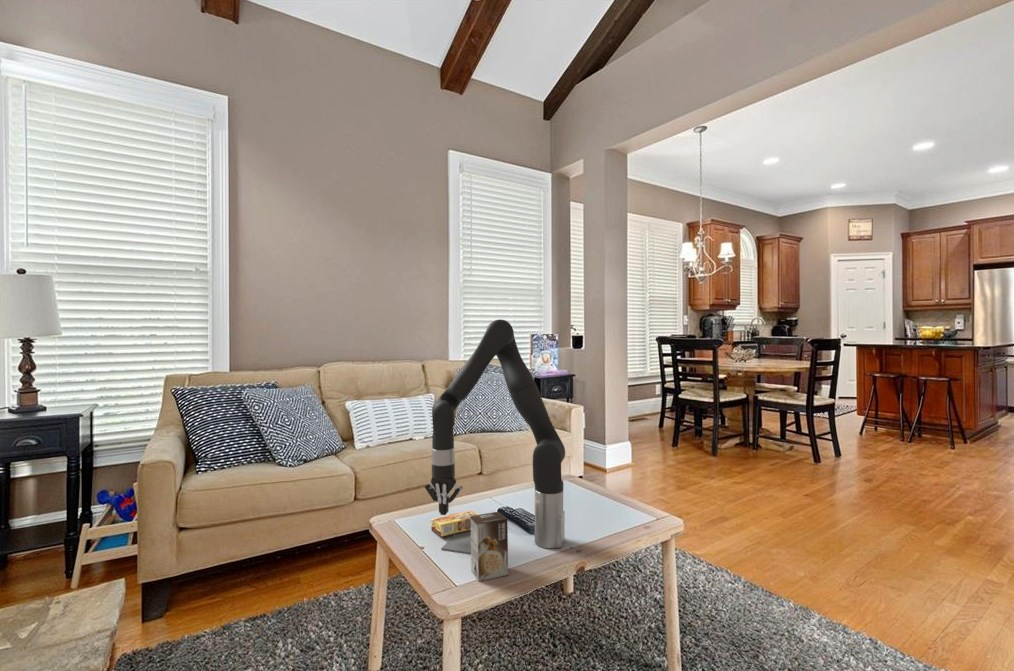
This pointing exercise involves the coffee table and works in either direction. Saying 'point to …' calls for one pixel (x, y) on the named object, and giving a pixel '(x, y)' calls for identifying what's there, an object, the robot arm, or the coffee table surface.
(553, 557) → the coffee table surface
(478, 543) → the coffee box
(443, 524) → the candy box
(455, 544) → the mat
